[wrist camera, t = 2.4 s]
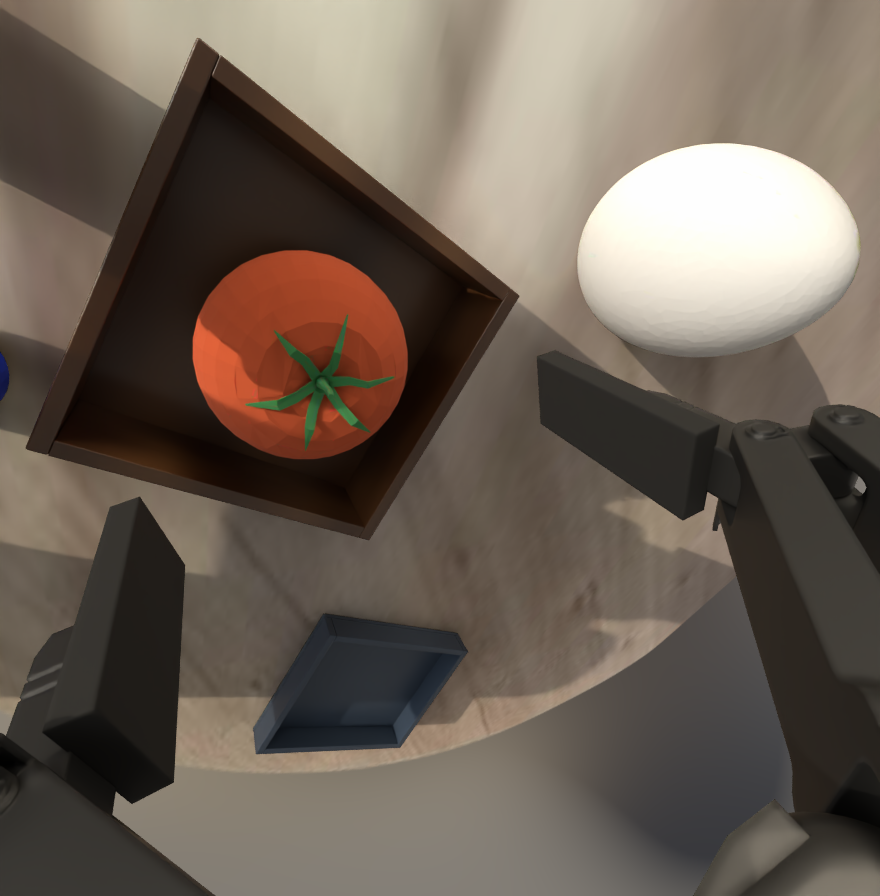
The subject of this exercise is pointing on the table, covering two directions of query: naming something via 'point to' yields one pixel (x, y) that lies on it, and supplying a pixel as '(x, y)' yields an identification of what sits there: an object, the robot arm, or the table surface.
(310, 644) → the tray
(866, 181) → the table surface
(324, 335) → the tomato
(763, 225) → the decorative egg
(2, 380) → the beverage can
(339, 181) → the open wooden box
